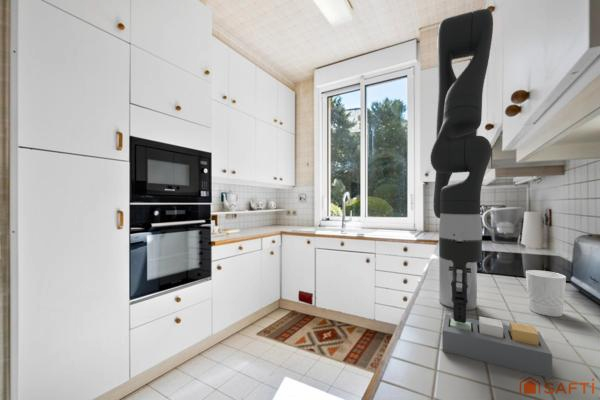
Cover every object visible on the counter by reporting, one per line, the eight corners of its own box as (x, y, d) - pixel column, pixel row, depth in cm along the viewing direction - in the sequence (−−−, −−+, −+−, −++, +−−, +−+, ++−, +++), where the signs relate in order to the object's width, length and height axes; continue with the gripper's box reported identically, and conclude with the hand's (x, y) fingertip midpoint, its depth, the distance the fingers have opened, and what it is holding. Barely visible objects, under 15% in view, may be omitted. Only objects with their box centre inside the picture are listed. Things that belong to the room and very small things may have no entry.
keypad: (445, 331, 61) (445, 313, 61) (539, 352, 52) (539, 331, 52) (442, 350, 53) (442, 330, 53) (552, 378, 45) (552, 354, 45)
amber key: (509, 332, 53) (509, 322, 53) (534, 337, 51) (534, 326, 51) (512, 340, 50) (512, 329, 50) (538, 346, 48) (538, 334, 48)
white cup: (524, 311, 72) (523, 273, 72) (527, 303, 78) (527, 268, 78) (565, 320, 66) (565, 279, 66) (566, 311, 72) (566, 273, 72)
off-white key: (479, 326, 55) (479, 316, 55) (501, 330, 53) (500, 320, 53) (479, 333, 52) (479, 323, 52) (503, 338, 50) (503, 327, 50)
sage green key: (450, 327, 58) (450, 318, 58) (470, 332, 56) (470, 322, 56) (450, 335, 55) (450, 325, 55) (471, 339, 53) (471, 329, 53)
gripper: (441, 231, 63) (441, 306, 63) (436, 238, 52) (436, 329, 52) (480, 233, 59) (480, 313, 59) (483, 241, 48) (483, 340, 48)
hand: (459, 320), depth 55 cm, fingers closed
